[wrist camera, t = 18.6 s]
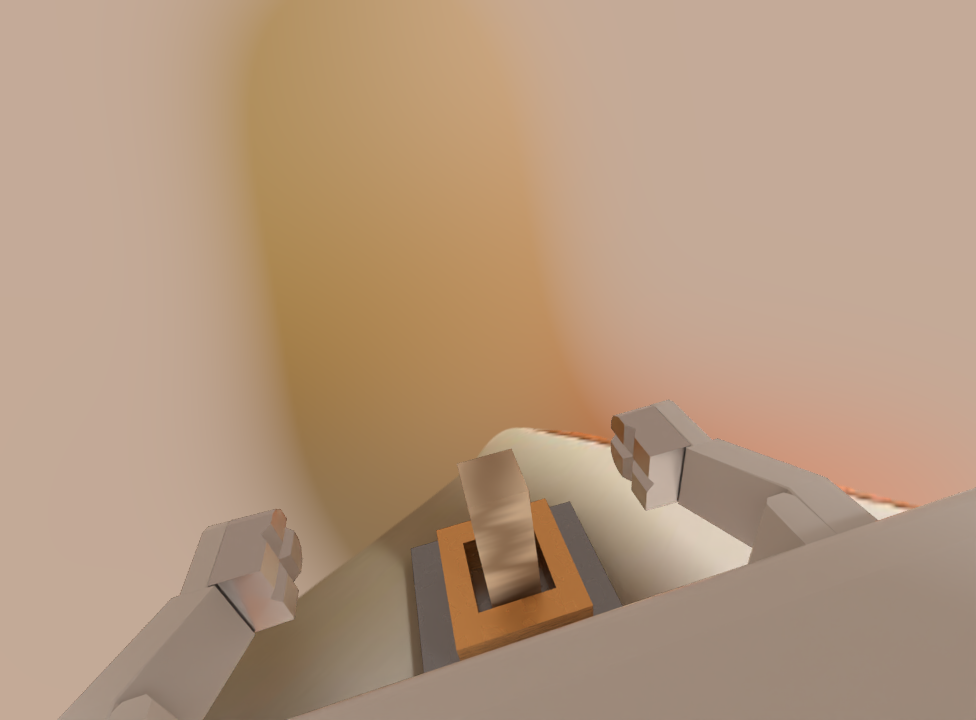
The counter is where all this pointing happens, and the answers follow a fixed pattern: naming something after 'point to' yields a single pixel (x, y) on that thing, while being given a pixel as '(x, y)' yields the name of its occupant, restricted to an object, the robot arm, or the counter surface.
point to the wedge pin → (502, 526)
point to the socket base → (480, 628)
